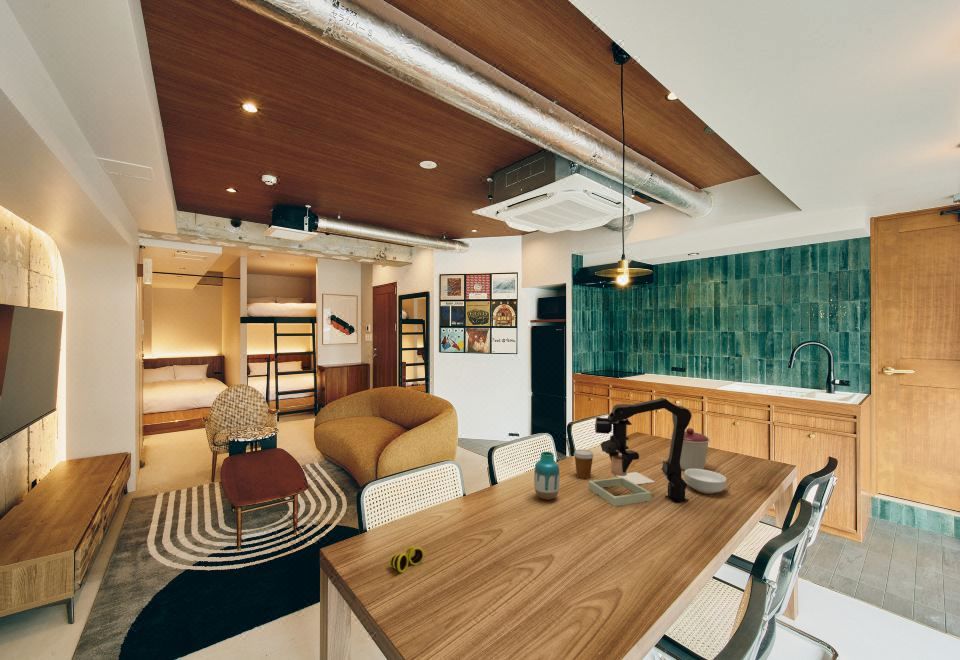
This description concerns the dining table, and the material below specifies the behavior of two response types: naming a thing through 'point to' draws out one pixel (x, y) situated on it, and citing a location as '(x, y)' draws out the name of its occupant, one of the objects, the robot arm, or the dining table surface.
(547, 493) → the vase
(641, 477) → the potting mat
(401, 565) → the opera glasses
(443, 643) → the dining table surface
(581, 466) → the disposable coffee cup
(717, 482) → the cereal bowl
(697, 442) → the canister
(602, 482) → the shallow rimmed tray
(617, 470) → the terracotta pot
